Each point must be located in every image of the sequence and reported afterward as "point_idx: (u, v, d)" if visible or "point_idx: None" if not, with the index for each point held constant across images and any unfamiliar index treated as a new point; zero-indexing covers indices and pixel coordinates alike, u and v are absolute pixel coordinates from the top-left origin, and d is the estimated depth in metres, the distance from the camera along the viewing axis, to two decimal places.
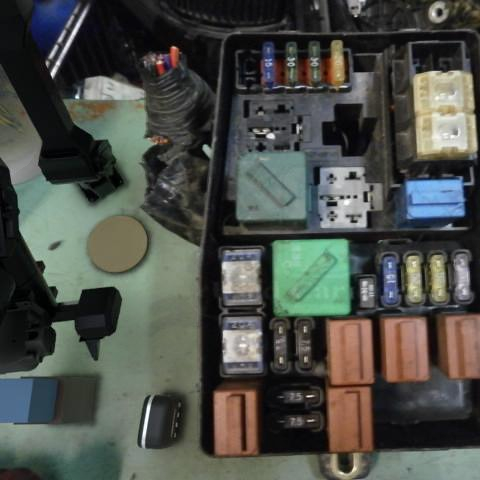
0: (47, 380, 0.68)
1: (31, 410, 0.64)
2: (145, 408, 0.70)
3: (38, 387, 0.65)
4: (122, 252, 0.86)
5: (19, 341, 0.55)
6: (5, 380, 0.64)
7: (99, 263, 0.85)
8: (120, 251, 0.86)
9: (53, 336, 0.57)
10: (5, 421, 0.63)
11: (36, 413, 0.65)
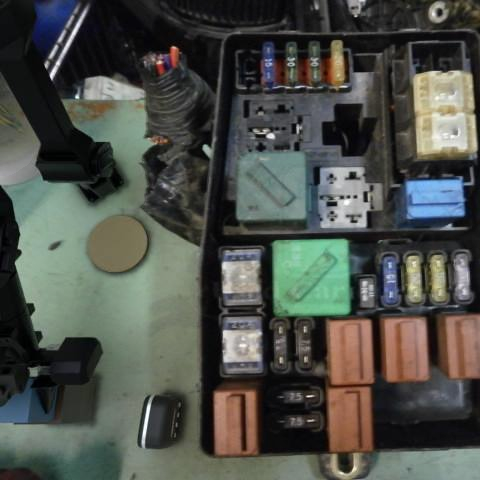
0: None
1: (31, 410, 0.64)
2: (145, 408, 0.70)
3: None
4: (122, 252, 0.86)
5: None
6: None
7: (99, 263, 0.85)
8: (120, 251, 0.86)
9: (26, 375, 0.58)
10: (5, 421, 0.63)
11: (36, 413, 0.65)
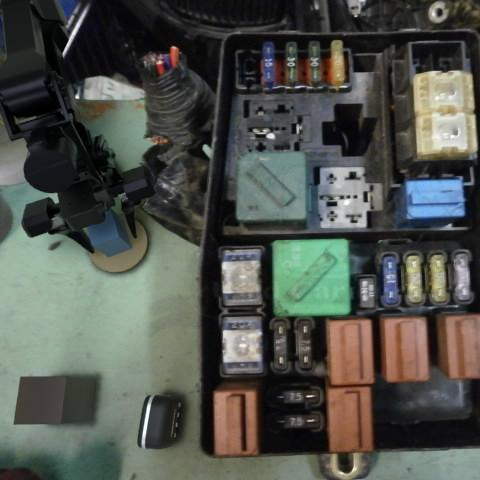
0: (117, 215, 0.84)
1: (117, 229, 0.80)
2: (145, 408, 0.70)
3: (115, 215, 0.82)
4: (122, 252, 0.86)
5: (88, 197, 0.72)
6: None
7: (99, 263, 0.85)
8: None
9: (112, 194, 0.74)
10: (101, 241, 0.79)
11: (121, 234, 0.82)
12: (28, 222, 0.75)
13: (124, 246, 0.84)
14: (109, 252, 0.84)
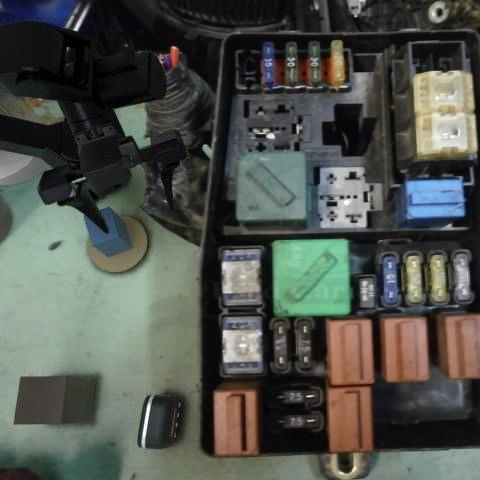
0: (117, 215, 0.84)
1: (117, 229, 0.80)
2: (145, 408, 0.70)
3: (115, 215, 0.82)
4: (122, 252, 0.86)
5: (113, 152, 0.63)
6: None
7: (99, 263, 0.85)
8: None
9: (139, 150, 0.65)
10: (101, 241, 0.79)
11: (121, 234, 0.82)
12: (45, 186, 0.66)
13: (124, 246, 0.84)
14: (109, 252, 0.84)
